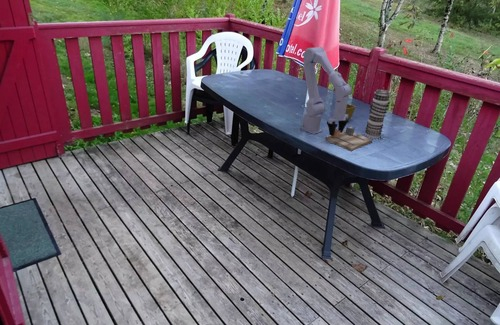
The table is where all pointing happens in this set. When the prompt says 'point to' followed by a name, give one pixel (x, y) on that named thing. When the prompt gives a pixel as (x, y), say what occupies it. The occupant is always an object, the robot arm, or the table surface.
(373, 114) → the banded round tower
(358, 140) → the console
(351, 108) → the flower pot
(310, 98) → the robot arm
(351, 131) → the fader
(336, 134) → the fader
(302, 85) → the table surface
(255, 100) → the table surface
